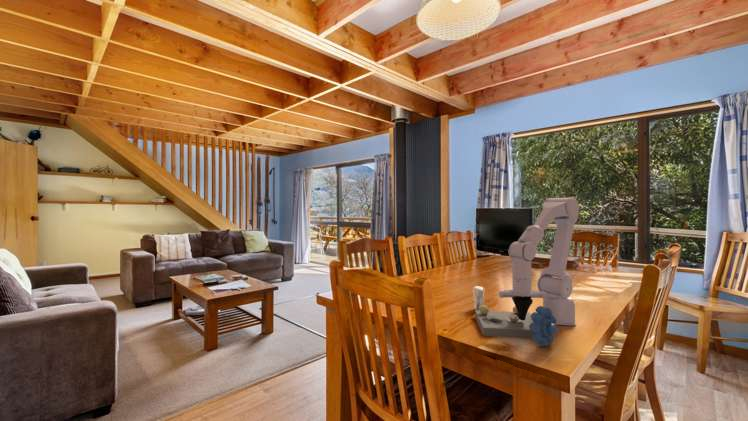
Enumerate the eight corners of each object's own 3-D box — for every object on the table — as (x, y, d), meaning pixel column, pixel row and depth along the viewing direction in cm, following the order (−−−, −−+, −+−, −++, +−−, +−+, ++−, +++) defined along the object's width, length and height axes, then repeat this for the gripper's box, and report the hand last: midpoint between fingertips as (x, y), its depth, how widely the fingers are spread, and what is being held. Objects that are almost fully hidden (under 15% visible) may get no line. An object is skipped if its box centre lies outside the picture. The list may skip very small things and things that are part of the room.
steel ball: (518, 320, 108) (517, 310, 108) (520, 323, 105) (520, 313, 105) (508, 320, 109) (507, 310, 109) (510, 323, 106) (510, 313, 106)
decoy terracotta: (521, 313, 115) (521, 304, 115) (523, 316, 112) (523, 307, 112) (511, 313, 116) (511, 304, 116) (514, 316, 113) (513, 307, 113)
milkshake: (480, 312, 125) (480, 286, 125) (470, 308, 130) (470, 283, 130) (488, 310, 127) (488, 285, 127) (478, 307, 132) (478, 282, 132)
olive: (488, 313, 116) (487, 304, 116) (489, 316, 113) (489, 306, 113) (478, 312, 117) (478, 303, 117) (480, 315, 114) (480, 306, 114)
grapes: (546, 357, 87) (546, 312, 87) (523, 348, 93) (523, 306, 93) (569, 347, 93) (569, 305, 93) (546, 339, 99) (546, 300, 99)
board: (529, 319, 117) (529, 312, 117) (547, 339, 99) (547, 331, 99) (475, 316, 120) (475, 310, 120) (483, 335, 102) (483, 327, 102)
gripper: (538, 275, 110) (538, 315, 110) (495, 275, 111) (495, 315, 111) (548, 280, 103) (549, 322, 103) (502, 280, 104) (502, 322, 104)
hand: (521, 319), depth 107 cm, fingers closed, pressing on steel ball
